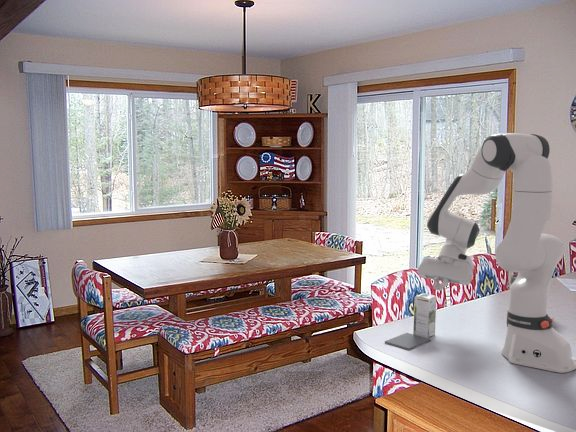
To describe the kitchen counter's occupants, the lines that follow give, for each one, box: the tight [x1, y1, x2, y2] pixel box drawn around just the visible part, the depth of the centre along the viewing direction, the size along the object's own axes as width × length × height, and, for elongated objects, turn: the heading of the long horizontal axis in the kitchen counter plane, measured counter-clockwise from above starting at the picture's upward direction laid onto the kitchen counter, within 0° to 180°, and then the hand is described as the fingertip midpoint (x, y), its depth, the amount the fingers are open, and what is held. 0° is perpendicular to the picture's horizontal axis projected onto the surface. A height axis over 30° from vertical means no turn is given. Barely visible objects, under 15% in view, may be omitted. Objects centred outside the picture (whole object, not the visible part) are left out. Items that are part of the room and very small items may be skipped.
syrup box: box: [412, 292, 437, 339], centre depth 204 cm, size 6×6×14 cm
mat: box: [384, 332, 432, 351], centre depth 198 cm, size 10×13×1 cm
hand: (437, 289), depth 211 cm, fingers closed
